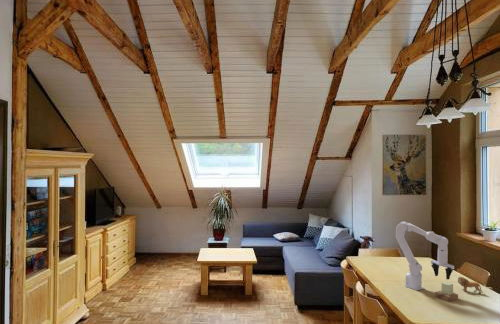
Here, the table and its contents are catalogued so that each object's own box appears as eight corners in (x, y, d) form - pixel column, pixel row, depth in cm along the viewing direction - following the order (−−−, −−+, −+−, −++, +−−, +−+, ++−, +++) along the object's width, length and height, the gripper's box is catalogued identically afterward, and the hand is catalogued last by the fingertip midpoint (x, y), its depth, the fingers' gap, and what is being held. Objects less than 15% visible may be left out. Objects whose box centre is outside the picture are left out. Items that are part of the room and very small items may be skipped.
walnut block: (435, 297, 231) (435, 291, 231) (444, 295, 235) (444, 289, 235) (448, 302, 223) (448, 296, 223) (457, 300, 227) (458, 294, 227)
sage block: (441, 292, 230) (441, 283, 230) (446, 291, 232) (446, 281, 232) (448, 295, 226) (448, 285, 226) (453, 293, 228) (453, 284, 228)
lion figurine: (458, 291, 241) (458, 277, 241) (456, 288, 246) (457, 275, 246) (484, 294, 236) (484, 280, 236) (482, 292, 241) (482, 278, 241)
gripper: (457, 258, 234) (456, 279, 234) (435, 253, 246) (435, 273, 246) (450, 259, 230) (450, 281, 230) (429, 254, 243) (428, 274, 243)
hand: (442, 277), depth 238 cm, fingers open, 7 cm apart
